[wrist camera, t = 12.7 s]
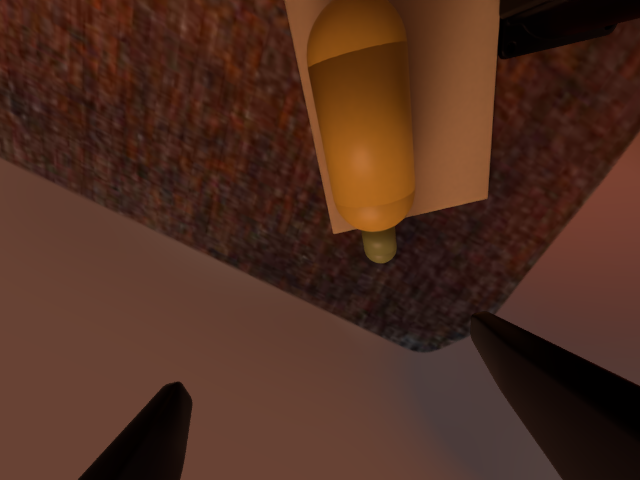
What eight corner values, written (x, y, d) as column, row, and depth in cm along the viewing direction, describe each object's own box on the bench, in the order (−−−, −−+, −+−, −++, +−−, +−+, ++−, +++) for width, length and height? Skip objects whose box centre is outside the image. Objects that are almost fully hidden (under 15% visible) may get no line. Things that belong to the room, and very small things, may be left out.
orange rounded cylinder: (402, 237, 20) (433, 270, 16) (340, 252, 20) (355, 289, 16) (382, 0, 14) (423, -44, 10) (293, 21, 14) (298, -16, 10)
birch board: (500, -103, 13) (508, -112, 13) (482, 196, 20) (488, 198, 19) (274, -49, 13) (273, -55, 13) (332, 230, 20) (333, 234, 19)
